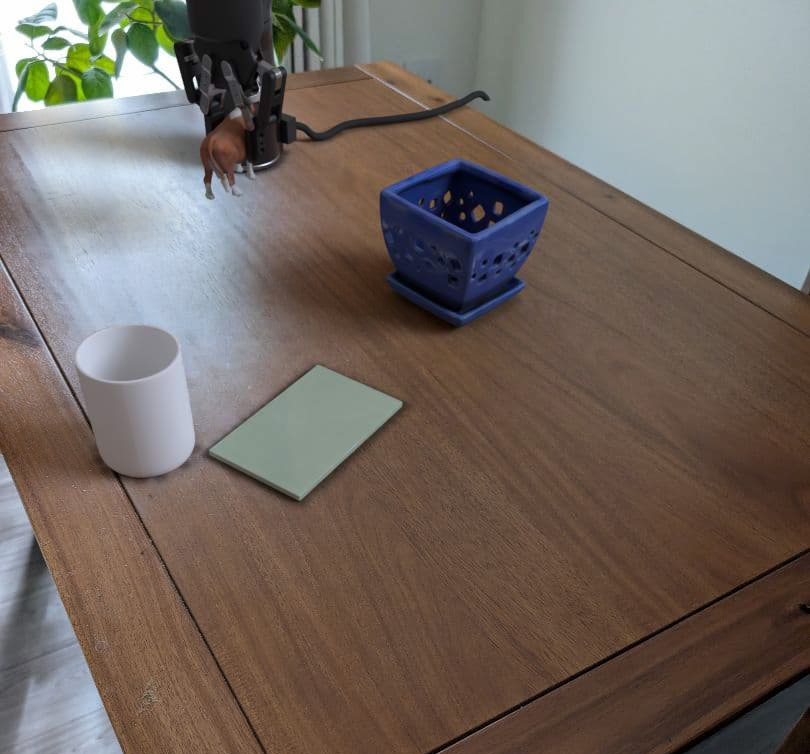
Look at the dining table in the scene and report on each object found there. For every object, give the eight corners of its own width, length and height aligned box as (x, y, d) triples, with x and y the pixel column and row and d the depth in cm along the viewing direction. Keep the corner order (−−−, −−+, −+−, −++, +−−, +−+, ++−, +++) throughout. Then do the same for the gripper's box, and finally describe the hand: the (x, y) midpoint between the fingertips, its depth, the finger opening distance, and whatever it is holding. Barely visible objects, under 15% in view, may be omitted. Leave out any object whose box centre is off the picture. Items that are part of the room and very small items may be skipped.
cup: (93, 481, 73) (64, 383, 65) (112, 394, 81) (89, 299, 73) (193, 479, 73) (176, 382, 66) (202, 393, 82) (187, 298, 74)
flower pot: (537, 299, 96) (556, 195, 88) (461, 345, 89) (473, 237, 81) (448, 254, 102) (458, 153, 94) (370, 294, 95) (373, 189, 87)
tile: (318, 369, 85) (317, 364, 85) (402, 406, 82) (402, 401, 81) (209, 455, 76) (208, 450, 75) (299, 501, 72) (299, 496, 72)
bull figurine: (282, 164, 103) (279, 92, 97) (227, 211, 94) (219, 134, 88) (250, 157, 103) (244, 85, 97) (192, 202, 95) (182, 126, 89)
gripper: (141, -30, 84) (166, 146, 97) (252, 3, 79) (264, 184, 92) (195, -43, 89) (212, 127, 101) (304, -14, 84) (308, 162, 96)
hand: (237, 153), depth 96 cm, fingers closed on bull figurine, 5 cm apart
